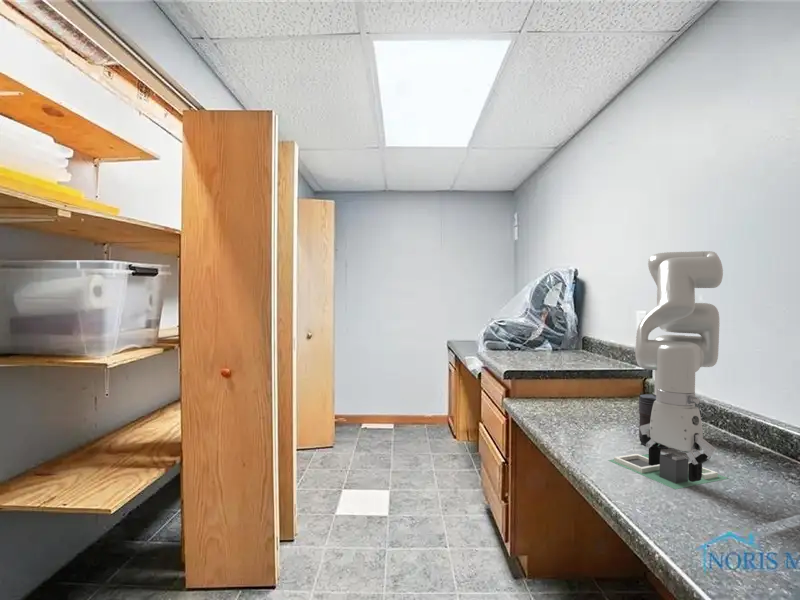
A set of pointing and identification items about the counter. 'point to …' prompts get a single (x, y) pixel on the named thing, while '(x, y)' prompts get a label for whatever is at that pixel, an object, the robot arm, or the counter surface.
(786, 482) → the counter surface
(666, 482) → the board
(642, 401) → the camera lens
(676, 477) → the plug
